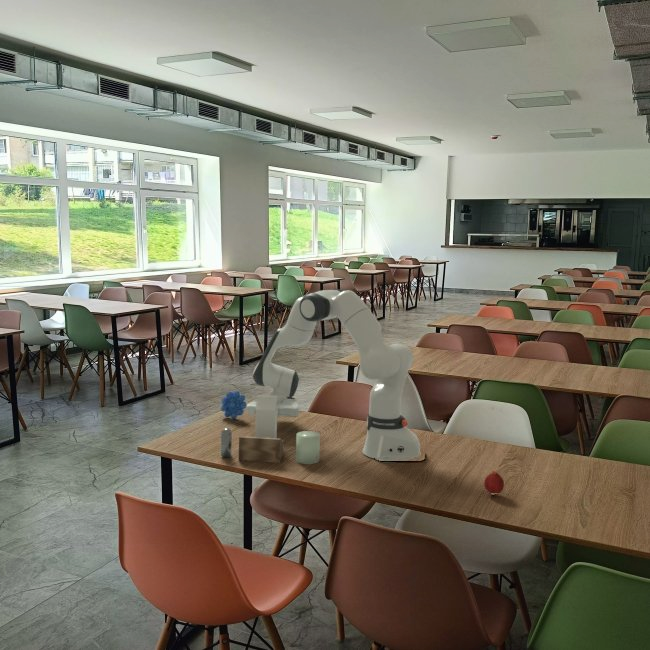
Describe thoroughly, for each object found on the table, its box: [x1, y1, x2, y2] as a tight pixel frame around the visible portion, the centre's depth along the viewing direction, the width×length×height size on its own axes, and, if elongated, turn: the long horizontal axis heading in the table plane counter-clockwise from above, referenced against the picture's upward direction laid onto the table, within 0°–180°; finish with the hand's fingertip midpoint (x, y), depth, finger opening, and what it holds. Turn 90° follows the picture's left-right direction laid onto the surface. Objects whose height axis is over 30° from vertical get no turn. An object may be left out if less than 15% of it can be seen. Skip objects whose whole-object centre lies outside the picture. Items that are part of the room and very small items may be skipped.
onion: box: [483, 470, 505, 494], centre depth 196 cm, size 6×6×8 cm
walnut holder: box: [238, 435, 285, 463], centre depth 221 cm, size 14×9×8 cm, turn 86°
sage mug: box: [295, 430, 321, 465], centre depth 221 cm, size 8×11×9 cm
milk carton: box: [254, 395, 278, 438], centre depth 230 cm, size 7×7×19 cm
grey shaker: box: [220, 427, 233, 459], centre depth 221 cm, size 4×4×10 cm
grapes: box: [220, 390, 248, 420], centre depth 264 cm, size 12×7×12 cm, turn 69°
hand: (270, 415), depth 239 cm, fingers closed
